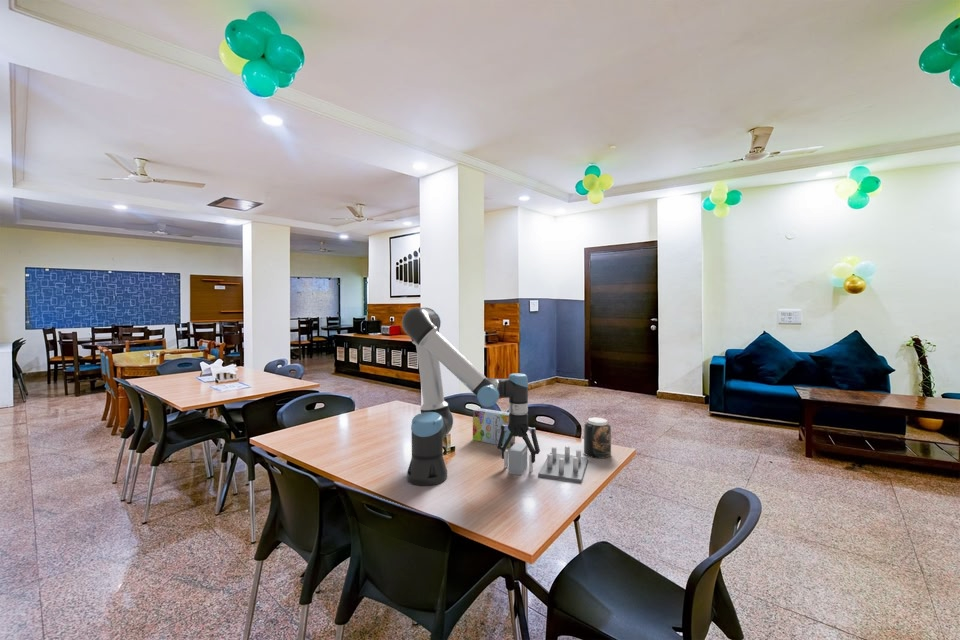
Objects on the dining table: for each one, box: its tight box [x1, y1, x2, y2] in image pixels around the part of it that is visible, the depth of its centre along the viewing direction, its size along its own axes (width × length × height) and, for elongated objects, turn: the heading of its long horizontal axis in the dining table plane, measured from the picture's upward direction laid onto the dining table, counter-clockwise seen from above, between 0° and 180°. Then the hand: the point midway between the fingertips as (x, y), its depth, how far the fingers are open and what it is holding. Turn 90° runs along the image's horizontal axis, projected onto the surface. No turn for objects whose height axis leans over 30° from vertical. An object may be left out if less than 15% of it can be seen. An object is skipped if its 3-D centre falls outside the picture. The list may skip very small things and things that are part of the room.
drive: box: [508, 442, 528, 476], centre depth 159 cm, size 5×10×9 cm, turn 159°
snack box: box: [472, 407, 516, 448], centre depth 192 cm, size 21×6×15 cm, turn 58°
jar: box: [583, 416, 612, 459], centre depth 177 cm, size 12×12×15 cm
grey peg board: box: [537, 445, 589, 484], centre depth 161 cm, size 16×24×6 cm, turn 159°
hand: (518, 468), depth 159 cm, fingers open, 10 cm apart
